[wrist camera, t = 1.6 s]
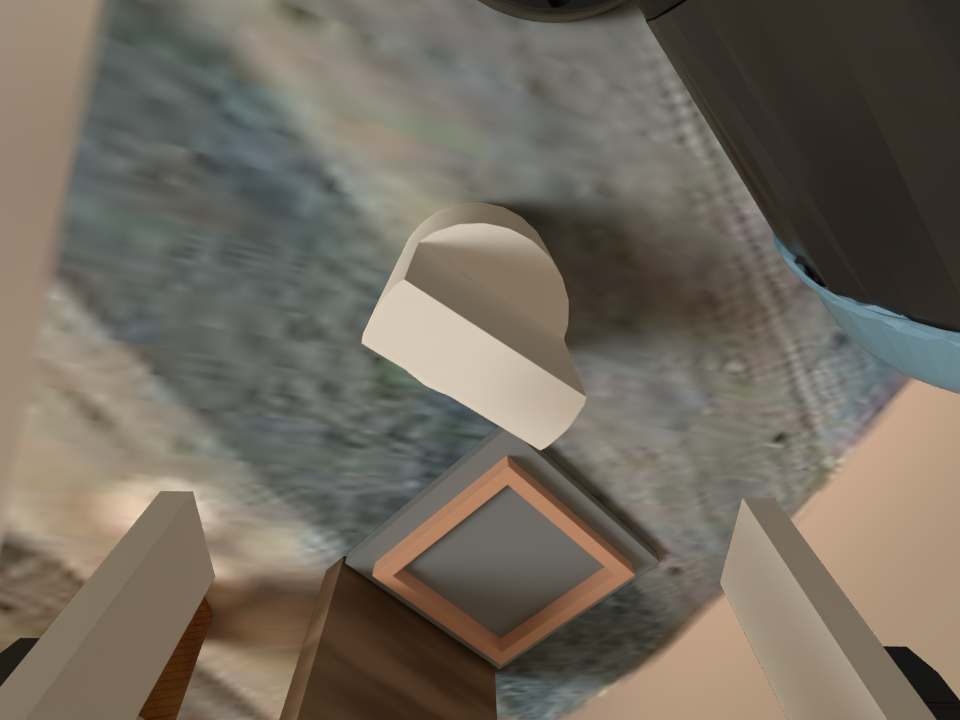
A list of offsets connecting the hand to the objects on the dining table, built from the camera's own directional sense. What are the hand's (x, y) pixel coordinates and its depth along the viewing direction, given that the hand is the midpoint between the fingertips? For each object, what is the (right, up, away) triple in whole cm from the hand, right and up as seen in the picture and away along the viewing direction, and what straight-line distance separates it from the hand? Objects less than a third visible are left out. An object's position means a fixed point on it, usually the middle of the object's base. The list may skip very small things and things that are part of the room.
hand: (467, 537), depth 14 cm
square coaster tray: (+2, -10, +27) cm, 29 cm away
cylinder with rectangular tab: (0, +9, +19) cm, 21 cm away
